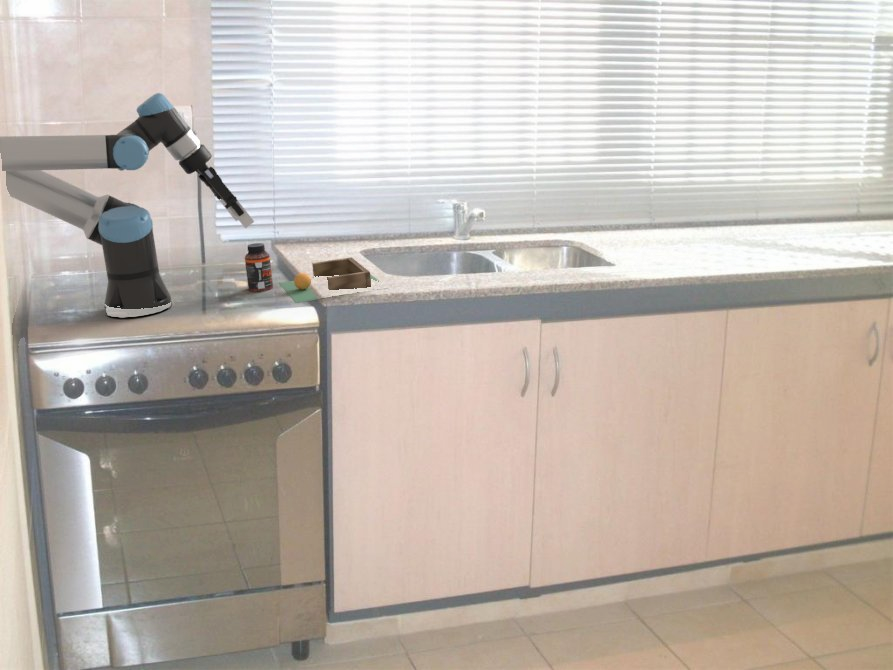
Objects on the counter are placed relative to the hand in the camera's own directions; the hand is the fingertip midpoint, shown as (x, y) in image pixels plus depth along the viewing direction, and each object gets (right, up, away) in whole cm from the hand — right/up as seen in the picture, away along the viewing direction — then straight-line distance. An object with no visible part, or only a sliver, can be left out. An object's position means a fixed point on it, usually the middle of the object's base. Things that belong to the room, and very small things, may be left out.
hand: (245, 221), depth 276 cm
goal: (+24, -16, -7) cm, 30 cm away
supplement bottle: (+5, -17, -5) cm, 19 cm away
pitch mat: (+22, -17, -8) cm, 29 cm away
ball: (+16, -17, -9) cm, 25 cm away
